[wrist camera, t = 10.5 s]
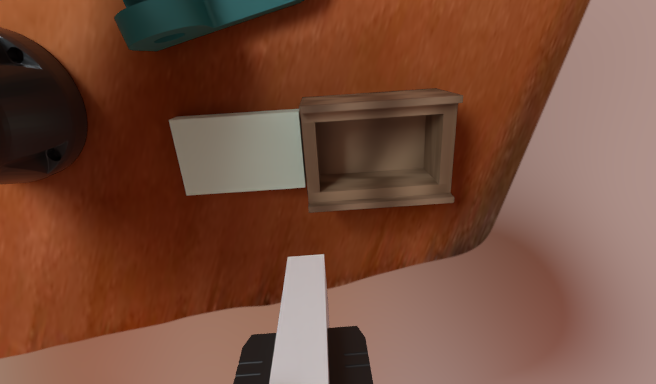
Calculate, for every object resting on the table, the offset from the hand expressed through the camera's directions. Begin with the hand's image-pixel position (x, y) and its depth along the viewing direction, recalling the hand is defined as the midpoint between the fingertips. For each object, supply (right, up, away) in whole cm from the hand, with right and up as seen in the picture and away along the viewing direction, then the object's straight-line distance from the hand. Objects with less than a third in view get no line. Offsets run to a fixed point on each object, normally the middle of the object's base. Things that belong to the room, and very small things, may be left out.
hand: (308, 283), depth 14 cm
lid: (-8, +9, +23) cm, 26 cm away
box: (+5, +10, +23) cm, 25 cm away
